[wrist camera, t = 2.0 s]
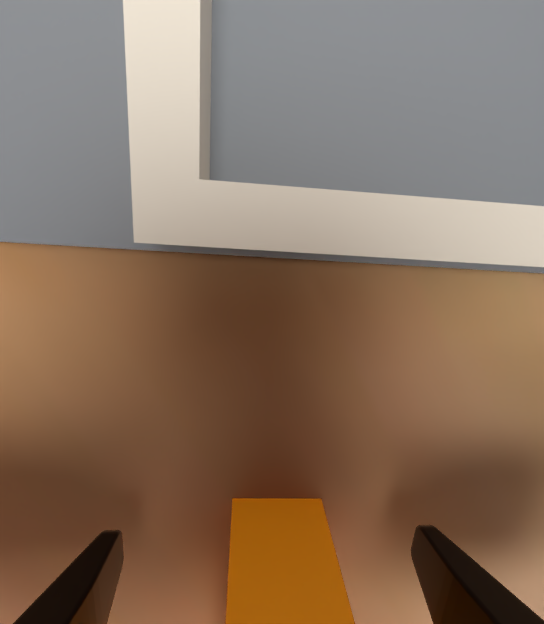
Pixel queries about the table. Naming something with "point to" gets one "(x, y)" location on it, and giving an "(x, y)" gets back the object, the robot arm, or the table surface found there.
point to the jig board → (277, 128)
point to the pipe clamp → (283, 564)
